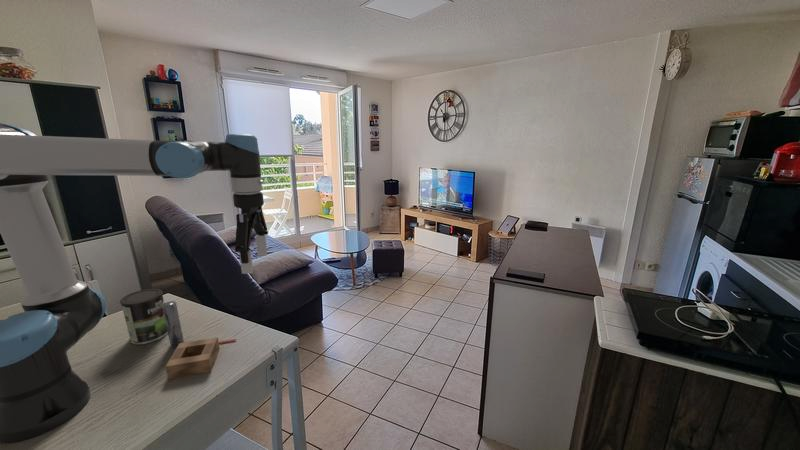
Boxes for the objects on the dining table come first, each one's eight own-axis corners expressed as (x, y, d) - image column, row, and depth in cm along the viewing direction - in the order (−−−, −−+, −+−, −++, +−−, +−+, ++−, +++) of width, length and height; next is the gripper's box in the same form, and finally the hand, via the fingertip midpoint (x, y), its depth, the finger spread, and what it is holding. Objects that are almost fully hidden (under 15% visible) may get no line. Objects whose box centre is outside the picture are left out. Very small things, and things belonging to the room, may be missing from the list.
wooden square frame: (168, 379, 82) (165, 366, 81) (181, 354, 91) (179, 343, 90) (210, 371, 85) (208, 359, 83) (219, 348, 94) (217, 337, 93)
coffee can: (177, 325, 105) (170, 288, 101) (153, 345, 95) (144, 304, 91) (148, 325, 105) (139, 287, 101) (121, 344, 95) (110, 303, 91)
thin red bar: (184, 349, 93) (184, 348, 93) (185, 347, 94) (185, 346, 94) (235, 341, 97) (235, 340, 97) (236, 339, 98) (236, 338, 98)
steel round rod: (168, 348, 93) (159, 307, 90) (173, 341, 97) (164, 302, 93) (181, 346, 94) (173, 306, 91) (185, 340, 98) (177, 300, 94)
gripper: (246, 200, 73) (255, 281, 79) (273, 185, 97) (279, 248, 103) (212, 200, 72) (224, 282, 78) (248, 185, 96) (255, 249, 102)
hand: (255, 263), depth 90 cm, fingers open, 13 cm apart
